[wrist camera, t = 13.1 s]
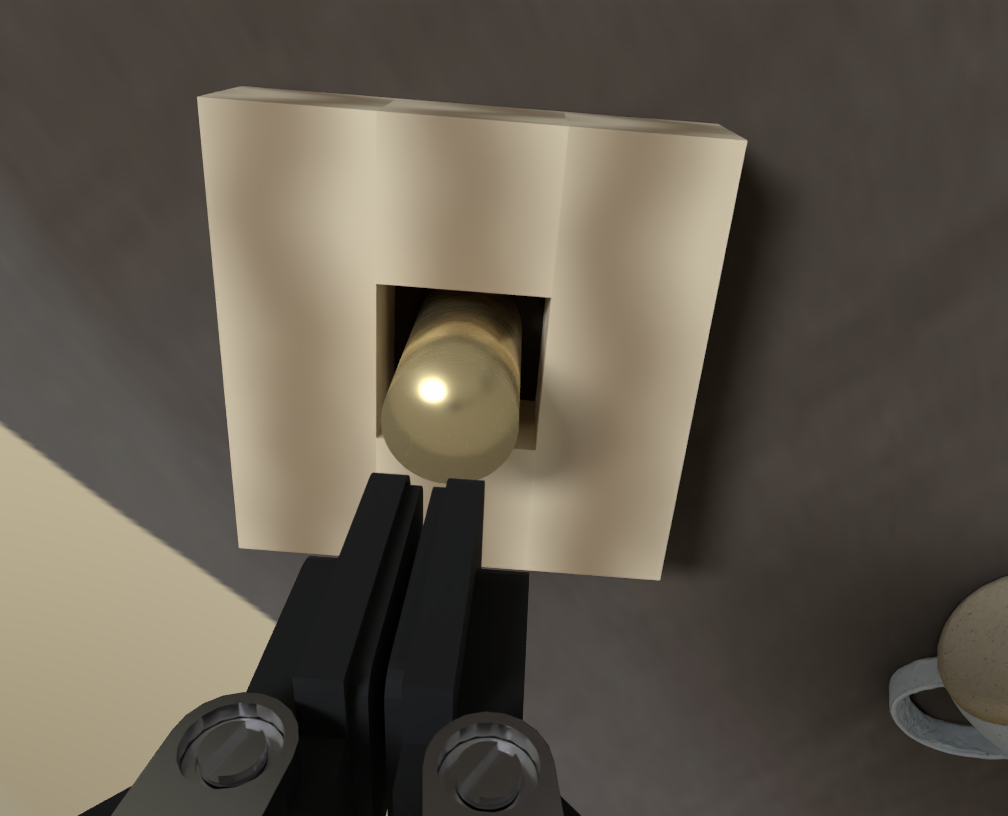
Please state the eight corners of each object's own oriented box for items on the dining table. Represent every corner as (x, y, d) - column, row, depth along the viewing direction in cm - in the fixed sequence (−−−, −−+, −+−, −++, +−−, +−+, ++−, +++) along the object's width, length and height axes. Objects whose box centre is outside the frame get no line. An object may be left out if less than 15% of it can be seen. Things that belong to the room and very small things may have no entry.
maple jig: (718, 124, 27) (747, 140, 23) (646, 520, 34) (660, 580, 30) (242, 86, 27) (197, 96, 23) (270, 491, 34) (239, 547, 30)
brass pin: (526, 281, 29) (524, 366, 22) (518, 380, 31) (513, 488, 24) (418, 273, 29) (380, 355, 22) (415, 372, 31) (380, 478, 24)
